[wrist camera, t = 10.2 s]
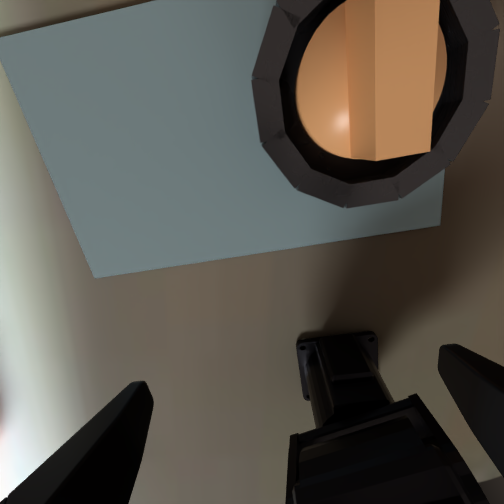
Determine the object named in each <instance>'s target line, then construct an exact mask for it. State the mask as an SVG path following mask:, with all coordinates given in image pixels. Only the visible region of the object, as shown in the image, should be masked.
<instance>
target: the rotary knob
mask: <svg viewBox="0 0 504 504" xmlns="http://www.w3.org/2000/svg"><path fill="white" fill-rule="evenodd" d="M439 6H440V0H346V1H345V2H344V3H342V4H341V5H339V6H338V7H337V8H336V9H335V10H333V11H332V12H331V13H330V14H329V15H328V16H327V17H326V18H325V19H324V21H323V22H322V23H321V24H320V26H319V27H318V28H317V30H316V31H315V33H314V35H313V36H312V38H311V40H310V42H309V44H308V46H307V48H306V50H305V52H304V54H303V56H302V58H301V61H300V63H299V66H298V70H297V73H296V78H295V86H294V102H295V109H296V113H297V117H298V120H299V122H300V124H301V127H302V129H303V130H304V132H305V134H306V135H307V136H308V137H309V139H310V140H311V141H312V142H313V143H314V144H315V145H316V146H317V147H319V148H320V149H322V150H323V151H325V152H327V153H329V154H332V155H335V156H339V157H344V158H351V159H365V160H372V161H378V160H384V159H390V158H396V157H401V156H407V155H413V154H418V153H424V152H430V147H431V131H432V115H433V111H434V109H435V107H436V105H437V103H438V101H439V98H440V95H441V92H442V89H443V85H444V81H445V76H446V69H447V53H446V45H445V40H444V36H443V33H442V30H441V28H440V25H439V23H438V21H439Z"/></svg>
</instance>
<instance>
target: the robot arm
mask: <svg viewBox="0 0 504 504" xmlns="http://www.w3.org/2000/svg"><path fill="white" fill-rule="evenodd" d="M370 337H372V338H370ZM368 338H370V339H368ZM302 345H304V347H300V346H302ZM296 349H297V356H298V363H299V370H300V377H301V384H302V391H303V397H304V399H305V400H307V401H311V406H312V411H313V415H314V420H315V425H316V429H313V430H310V431H307V432H304V433H301V434H298V433H296V434H293V435H290V445H289V453H288V470H287V487H286V504H489V502H488V500H487V498H486V496H485V495H484V493H483V491H482V489H481V487H480V486H479V484H478V482H477V481H476V479H475V477H474V476H473V474H472V472H471V471H470V469H469V468H468V466H467V464H466V463H465V461H464V460H463V458H462V456H461V455H460V453H459V452H458V450H457V449H456V447H455V446H454V445H453V443H452V442H451V440H450V439H449V438H448V436H447V435H446V433H445V432H444V431H443V429H442V428H441V426H440V425H439V424H438V422H437V421H436V420H435V418H434V417H433V415H432V414H431V413H430V411H429V410H428V408H427V407H426V406H425V404H424V403H423V402H422V400H421V399H420V397H419V396H418V395H417V393H416V394H413V395H410V396H408V397H409V398H406V399H403V400H400V401H397V402H394V400H393V398H392V396H391V394H390V392H389V390H388V388H387V387H386V385H385V383H384V381H383V379H382V377H381V375H380V373H379V372H378V338H377V336H376V334H375V333H374V332H372V331H367V332H359V333H351V334H343V335H335V336H327V337H319V338H311V339H303V340H299V341H298V342H297V343H296ZM438 371H439V374H440V376H441V378H442V379H443V381H444V383H445V385H446V387H447V388H448V390H449V392H450V394H451V395H452V397H453V399H454V401H455V403H456V404H457V406H458V408H459V410H460V411H461V413H462V415H463V417H464V419H465V420H466V422H467V424H468V425H469V427H470V429H471V430H472V432H473V433H474V435H475V436H476V438H477V440H478V441H479V442H480V444H481V445H482V447H483V448H484V450H485V451H486V453H487V454H488V456H489V457H490V458H491V460H492V461H493V463H494V464H495V466H496V467H497V469H498V470H499V472H500V473H501V475H502V476H503V477H504V367H503V366H501V365H499V364H497V363H495V362H493V361H491V360H489V359H487V358H485V357H483V356H481V355H479V354H477V353H475V352H473V351H471V350H469V349H467V348H465V347H463V346H461V345H458V344H447V345H442V346H441V347H440V349H439V359H438ZM153 405H154V401H153V397H152V395H151V392H150V390H149V388H148V385H147V383H146V382H145V381H136V382H132V383H130V384H129V385H128V386H127V387H126V388H124V389H123V390H122V391H121V392H120V393H119V394H118V395H117V396H116V397H115V398H114V399H112V400H111V401H110V402H109V403H108V404H107V405H106V406H105V407H104V408H103V409H102V410H100V411H99V412H98V413H97V414H96V415H95V416H94V417H93V418H92V419H91V420H90V421H88V422H87V423H86V424H85V425H84V426H83V427H82V428H81V429H80V430H79V431H78V432H76V433H75V434H74V435H73V436H72V437H71V438H70V439H69V440H68V441H67V442H66V443H64V444H63V445H62V446H61V447H60V448H59V449H58V450H57V451H56V452H55V453H54V454H52V455H51V456H50V457H49V458H48V459H47V460H46V461H45V462H44V463H43V464H42V465H40V466H39V467H38V468H37V469H36V470H35V471H34V472H33V473H32V474H31V475H29V476H28V477H27V478H26V479H25V480H24V481H23V482H22V483H21V484H20V485H19V486H17V487H16V488H15V489H14V490H13V491H12V492H11V493H10V494H9V495H8V498H7V497H6V498H4V499H3V500H2V501H1V502H0V504H128V503H129V500H130V497H131V494H132V490H133V487H134V484H135V481H136V477H137V474H138V471H139V468H140V464H141V461H142V457H143V453H144V448H145V443H146V439H147V434H148V429H149V425H150V420H151V416H152V411H153Z"/></svg>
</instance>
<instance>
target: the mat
mask: <svg viewBox="0 0 504 504" xmlns="http://www.w3.org/2000/svg"><path fill="white" fill-rule="evenodd" d="M273 5H274V6H276V0H155V1H151V2H147V3H142V4H138V5H134V6H130V7H126V8H122V9H117V10H113V11H109V12H105V13H101V14H96V15H92V16H88V17H84V18H80V19H76V20H71V21H67V22H63V23H59V24H55V25H50V26H46V27H42V28H38V29H34V30H29V31H25V32H21V33H17V34H13V35H9V36H4V37H0V61H1V63H2V65H3V67H4V70H5V72H6V74H7V77H8V79H9V81H10V84H11V86H12V88H13V91H14V93H15V95H16V98H17V100H18V102H19V105H20V107H21V109H22V111H23V114H24V116H25V118H26V121H27V123H28V125H29V128H30V130H31V132H32V135H33V137H34V139H35V142H36V144H37V146H38V149H39V151H40V153H41V155H42V158H43V160H44V162H45V165H46V167H47V169H48V172H49V174H50V176H51V179H52V181H53V183H54V186H55V188H56V190H57V192H58V195H59V197H60V199H61V202H62V204H63V206H64V209H65V211H66V213H67V216H68V218H69V220H70V223H71V225H72V227H73V230H74V232H75V234H76V236H77V239H78V241H79V243H80V246H81V248H82V250H83V253H84V255H85V257H86V260H87V262H88V264H89V267H90V269H91V271H92V274H93V276H94V278H100V277H107V276H113V275H120V274H126V273H133V272H140V271H146V270H153V269H159V268H166V267H172V266H179V265H185V264H192V263H198V262H205V261H211V260H218V259H224V258H231V257H237V256H244V255H250V254H257V253H264V252H270V251H277V250H283V249H290V248H296V247H303V246H309V245H316V244H322V243H329V242H335V241H342V240H348V239H355V238H361V237H368V236H374V235H381V234H388V233H394V232H401V231H407V230H414V229H420V228H427V227H433V226H440V221H441V209H442V197H443V186H444V174H445V169H444V170H442V171H441V172H439V173H438V174H436V175H435V176H434V177H432V178H431V179H429V180H428V181H427V182H425V183H424V184H422V185H421V186H419V187H418V188H417V189H415V190H414V191H412V192H411V193H410V194H408V195H407V196H405V197H404V198H402V199H401V198H399V200H397V201H391V202H385V203H378V204H372V205H366V206H360V207H354V208H348V209H347V208H345V207H344V208H341V207H339V206H336V205H333V204H331V203H328V202H326V201H323V200H320V199H318V198H315V197H313V196H310V195H307V194H305V193H302V192H299V191H297V190H296V189H294V187H293V186H292V185H291V184H290V183H289V181H288V180H287V179H286V178H285V176H284V175H283V174H282V173H281V171H280V170H279V169H278V167H277V166H276V165H275V163H274V162H273V161H272V159H271V158H270V157H269V156H268V154H267V153H266V152H265V150H264V149H263V148H262V145H263V144H264V143H265V142H263V143H260V140H259V133H258V127H257V120H256V113H255V107H254V100H253V93H252V83H251V80H252V72H253V69H254V66H255V63H256V60H257V56H258V53H259V50H260V47H261V43H262V40H263V37H264V34H265V31H266V27H267V24H268V21H269V18H270V15H271V11H272V8H273Z"/></svg>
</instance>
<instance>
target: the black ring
mask: <svg viewBox="0 0 504 504" xmlns="http://www.w3.org/2000/svg"><path fill="white" fill-rule="evenodd" d="M345 1H346V0H276V6H274V5H273V8H272V11H271V15H270V18H269V21H268V24H267V27H266V31H265V34H264V37H263V40H262V43H261V47H260V50H259V53H258V56H257V60H256V63H255V66H254V69H253V72H252V80H251V83H252V93H253V100H254V107H255V113H256V120H257V127H258V133H259V140H260V143H263V142H265V143H264V144H263V145H262V148H263V149H264V150H265V152H266V153H267V154H268V156H269V157H270V158H271V159H272V161H273V162H274V163H275V165H276V166H277V167H278V169H279V170H280V171H281V173H282V174H283V175H284V176H285V178H286V179H287V180H288V181H289V183H290V184H291V185H292V186H293V187H294V189H296V190H297V191H299V192H302V193H305V194H307V195H310V196H313V197H315V198H318V199H320V200H323V201H326V202H328V203H331V204H333V205H336V206H339V207H341V208H344V207H345V208H347V209H348V208H354V207H360V206H366V205H372V204H378V203H385V202H391V201H397V200H399V198H401V199H402V198H404V197H405V196H407V195H408V194H410V193H411V192H412V191H414V190H415V189H417V188H418V187H419V186H421V185H422V184H424V183H425V182H427V181H428V180H429V179H431V178H432V177H434V176H435V175H436V174H438V173H439V172H441V171H442V170H444V169H445V168H446V167H448V166H449V165H451V164H450V162H449V161H454V160H455V158H456V157H457V155H458V153H459V152H460V150H461V149H462V147H463V145H464V144H465V142H466V140H467V139H468V137H469V136H470V134H471V132H472V131H473V129H474V127H475V126H476V124H477V123H478V121H479V119H480V118H481V116H482V114H483V113H484V111H485V110H486V108H487V106H488V105H489V104H488V103H486V102H483V101H485V100H490V99H491V92H492V85H493V77H494V70H495V62H496V54H497V47H498V39H499V32H500V29H496V30H492V29H493V28H495V27H496V26H497V25H498V24H499V22H498V19H497V17H496V14H495V12H494V10H493V7H492V5H491V2H490V0H440V6H439V21H438V23H439V25H440V28H441V30H442V33H443V36H444V40H445V45H446V53H447V69H446V76H445V81H444V85H443V89H442V92H441V95H440V98H439V101H438V103H437V105H436V107H435V109H434V111H433V115H432V131H431V147H430V152H424V153H418V154H413V155H407V156H401V157H396V158H390V159H384V160H378V161H372V160H365V159H351V158H344V157H339V156H335V155H332V154H329V153H327V152H325V151H323V150H322V149H320V148H319V147H317V146H316V145H315V144H314V143H313V142H312V141H311V140H310V139H309V137H308V136H307V135H306V134H305V132H304V130H303V129H302V127H301V124H300V122H299V120H298V117H297V113H296V109H295V102H294V86H295V78H296V73H297V70H298V66H299V63H300V61H301V58H302V56H303V54H304V52H305V50H306V48H307V46H308V44H309V42H310V40H311V38H312V36H313V35H314V33H315V31H316V30H317V28H318V27H319V26H320V24H321V23H322V22H323V21H324V19H325V18H326V17H327V16H328V15H329V14H330V13H331V12H332V11H333V10H335V9H336V8H337V7H338V6H339V5H341V4H342V3H344V2H345Z"/></svg>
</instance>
